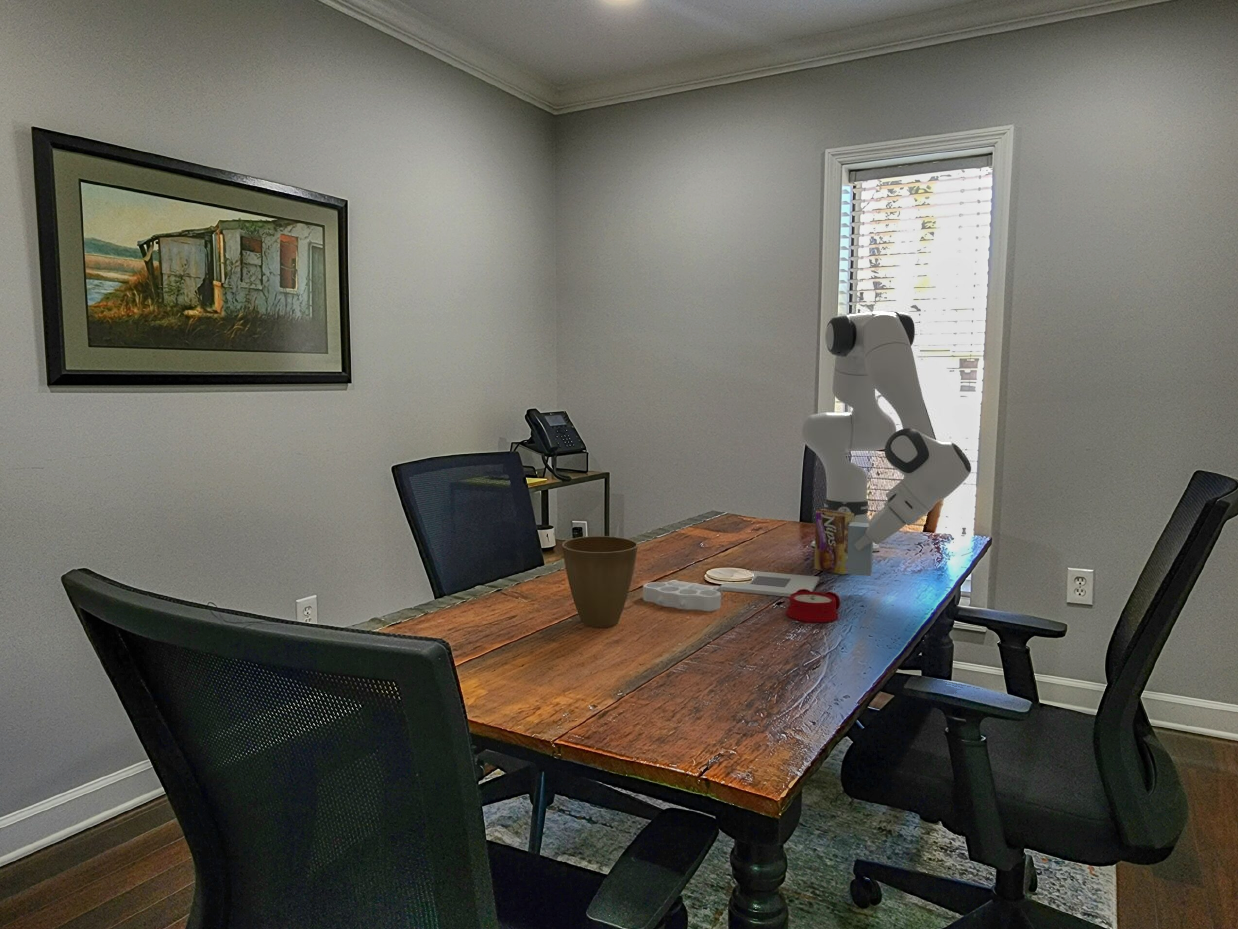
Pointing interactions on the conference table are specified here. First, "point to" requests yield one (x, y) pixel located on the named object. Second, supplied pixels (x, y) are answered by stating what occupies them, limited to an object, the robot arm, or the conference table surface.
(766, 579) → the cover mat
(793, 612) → the alarm clock
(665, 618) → the conference table surface
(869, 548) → the slate block
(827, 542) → the candy box
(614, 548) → the plant pot
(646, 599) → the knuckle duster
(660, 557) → the conference table surface
